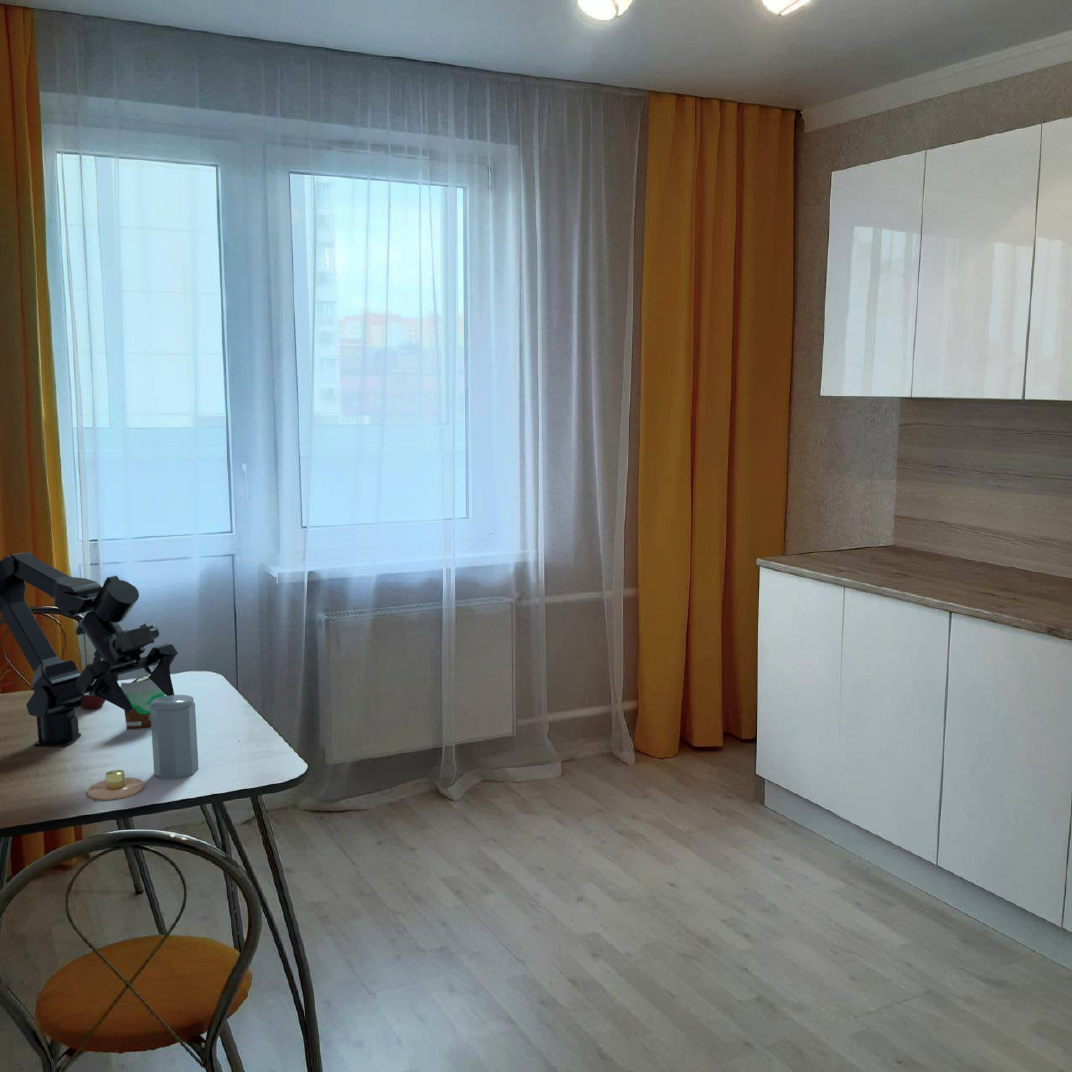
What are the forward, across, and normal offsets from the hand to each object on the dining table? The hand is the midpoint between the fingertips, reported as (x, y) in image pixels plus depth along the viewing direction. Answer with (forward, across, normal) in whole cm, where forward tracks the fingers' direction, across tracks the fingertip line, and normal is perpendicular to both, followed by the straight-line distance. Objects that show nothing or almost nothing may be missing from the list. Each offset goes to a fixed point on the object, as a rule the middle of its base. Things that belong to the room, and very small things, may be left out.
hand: (152, 703), depth 193 cm
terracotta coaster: (+11, -11, +6) cm, 17 cm away
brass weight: (+11, -11, +6) cm, 17 cm away
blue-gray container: (+12, 0, +5) cm, 13 cm away
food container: (-7, +17, +23) cm, 30 cm away
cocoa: (-21, +18, +38) cm, 47 cm away
